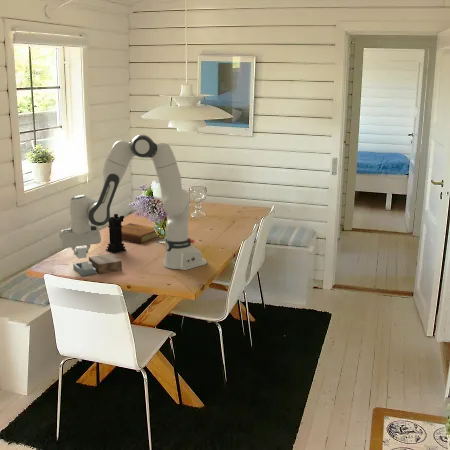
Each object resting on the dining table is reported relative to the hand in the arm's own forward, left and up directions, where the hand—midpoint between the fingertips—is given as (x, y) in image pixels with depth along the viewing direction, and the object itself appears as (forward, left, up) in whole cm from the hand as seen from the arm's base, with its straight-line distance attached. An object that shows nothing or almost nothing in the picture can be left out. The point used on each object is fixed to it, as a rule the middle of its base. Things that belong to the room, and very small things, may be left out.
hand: (81, 254), depth 296 cm
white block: (0, 0, -2) cm, 2 cm away
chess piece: (-27, -20, -8) cm, 35 cm away
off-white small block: (0, +7, -8) cm, 10 cm away
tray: (0, +4, -8) cm, 9 cm away
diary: (-47, -39, -9) cm, 62 cm away
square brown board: (-11, +5, -8) cm, 14 cm away
